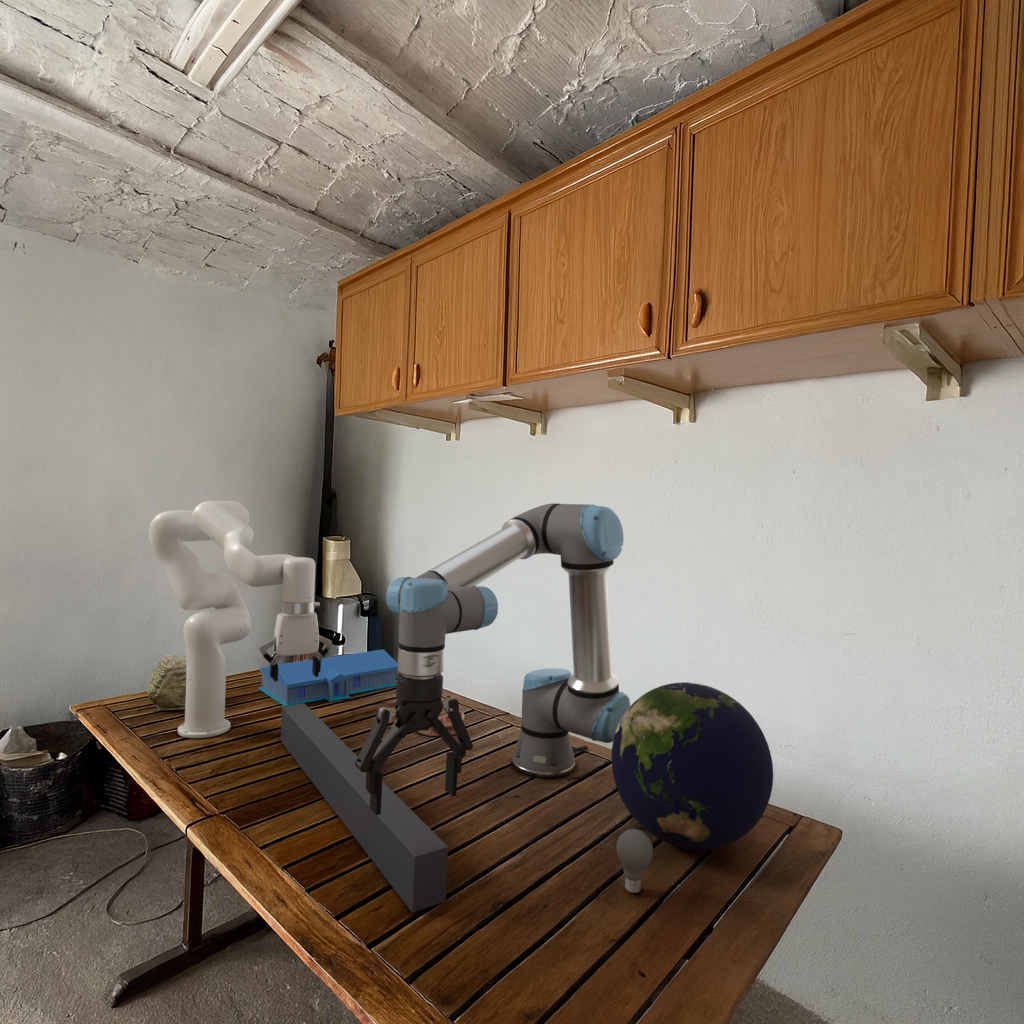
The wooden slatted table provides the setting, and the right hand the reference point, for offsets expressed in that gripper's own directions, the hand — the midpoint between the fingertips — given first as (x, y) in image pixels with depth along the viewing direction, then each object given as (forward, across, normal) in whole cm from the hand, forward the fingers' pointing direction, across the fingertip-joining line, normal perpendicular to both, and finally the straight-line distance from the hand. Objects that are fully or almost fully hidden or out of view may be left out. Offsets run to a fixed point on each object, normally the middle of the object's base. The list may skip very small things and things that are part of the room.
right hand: (414, 802), depth 104 cm
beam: (+14, 0, +33) cm, 36 cm away
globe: (+14, +52, -13) cm, 55 cm away
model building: (+14, +23, +109) cm, 112 cm away
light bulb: (+14, +31, -20) cm, 39 cm away
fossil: (+14, -20, +111) cm, 114 cm away
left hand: (-5, -2, +63) cm, 63 cm away
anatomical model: (+14, +37, +61) cm, 72 cm away
